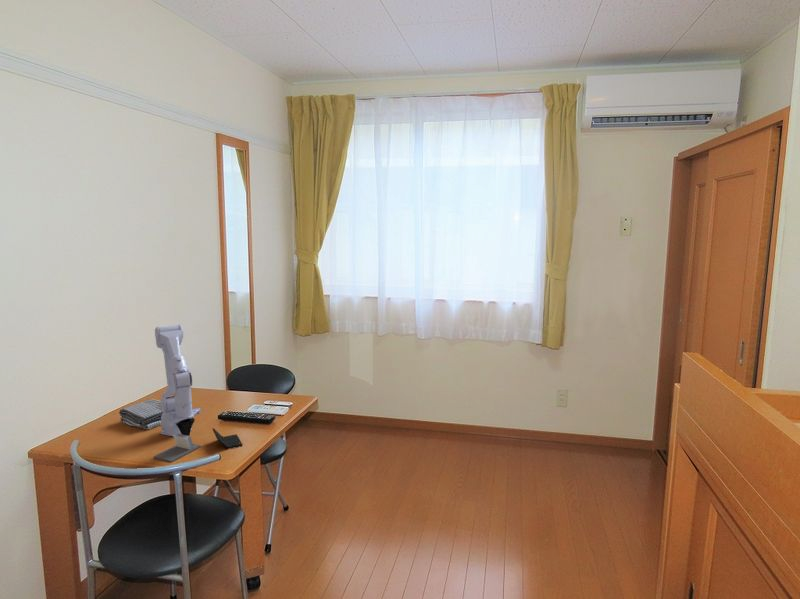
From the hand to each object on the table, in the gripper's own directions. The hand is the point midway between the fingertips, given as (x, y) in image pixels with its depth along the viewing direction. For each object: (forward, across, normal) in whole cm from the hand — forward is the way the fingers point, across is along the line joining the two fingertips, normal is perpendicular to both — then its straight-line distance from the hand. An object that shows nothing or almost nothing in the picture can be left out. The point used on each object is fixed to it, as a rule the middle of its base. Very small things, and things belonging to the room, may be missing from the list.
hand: (185, 437), depth 192 cm
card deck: (+3, -1, 0) cm, 3 cm away
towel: (+4, +13, +36) cm, 38 cm away
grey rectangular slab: (+4, -4, 0) cm, 6 cm away
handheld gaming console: (+4, +9, -12) cm, 16 cm away
